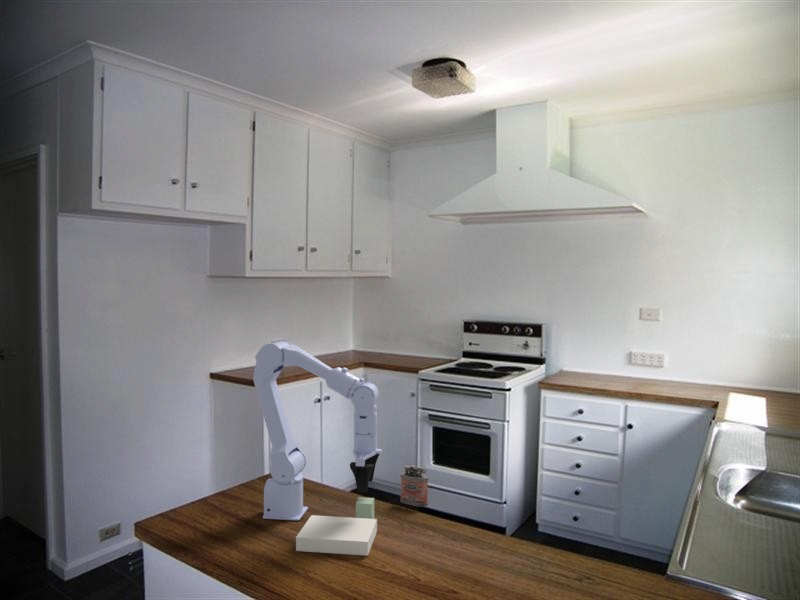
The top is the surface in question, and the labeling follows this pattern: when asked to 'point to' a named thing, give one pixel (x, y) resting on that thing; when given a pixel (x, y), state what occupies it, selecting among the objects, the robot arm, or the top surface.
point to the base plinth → (337, 535)
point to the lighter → (414, 486)
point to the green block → (365, 508)
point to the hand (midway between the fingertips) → (365, 486)
